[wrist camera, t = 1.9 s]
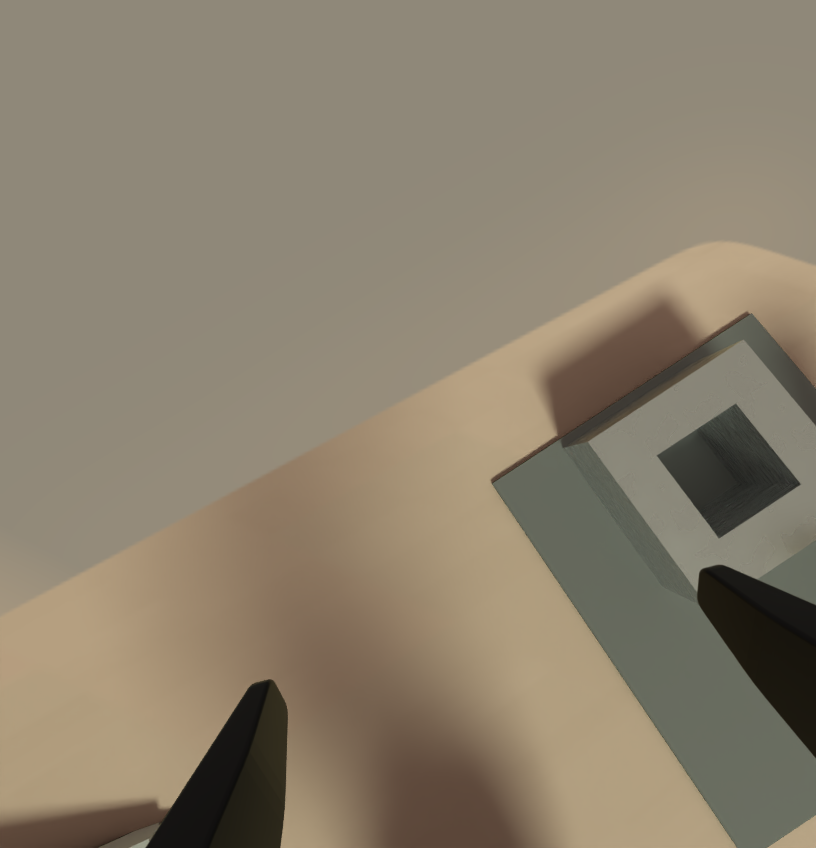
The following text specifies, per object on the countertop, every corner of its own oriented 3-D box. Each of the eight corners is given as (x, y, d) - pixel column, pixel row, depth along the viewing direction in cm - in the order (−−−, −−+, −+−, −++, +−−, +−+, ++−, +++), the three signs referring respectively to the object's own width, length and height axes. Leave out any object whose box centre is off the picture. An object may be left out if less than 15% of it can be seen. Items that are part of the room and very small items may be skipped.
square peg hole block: (799, 495, 22) (877, 499, 18) (662, 587, 22) (710, 610, 18) (693, 362, 24) (743, 339, 20) (562, 448, 24) (587, 441, 20)
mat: (1040, 658, 21) (1045, 660, 21) (743, 857, 21) (747, 861, 20) (749, 314, 24) (751, 313, 24) (491, 483, 24) (492, 483, 24)
